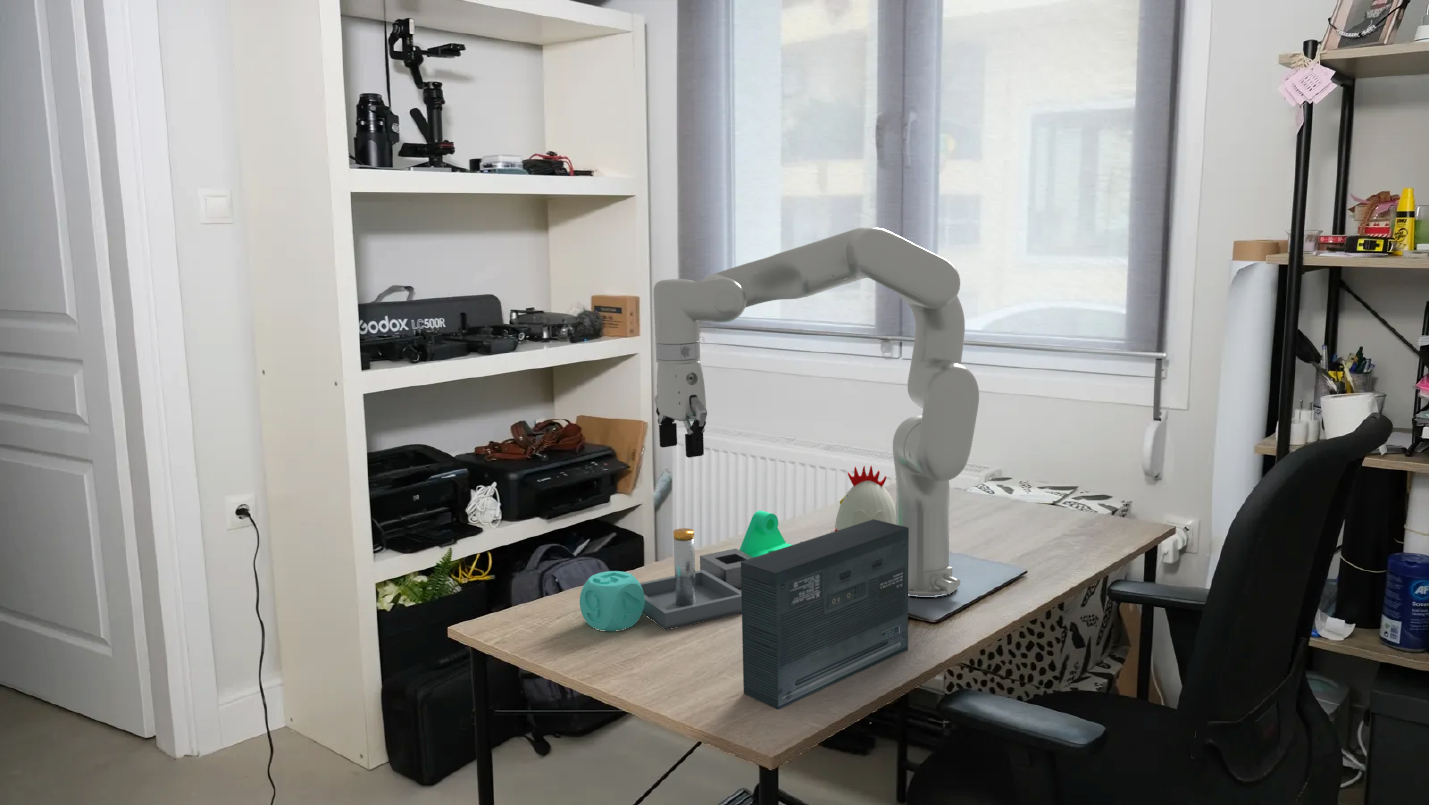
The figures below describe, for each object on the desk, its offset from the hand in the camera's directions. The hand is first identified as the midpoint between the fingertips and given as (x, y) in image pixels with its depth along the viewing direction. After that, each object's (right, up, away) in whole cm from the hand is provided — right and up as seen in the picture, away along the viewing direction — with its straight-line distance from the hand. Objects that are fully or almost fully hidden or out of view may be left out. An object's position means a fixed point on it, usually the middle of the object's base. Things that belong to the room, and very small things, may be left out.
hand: (681, 451), depth 185 cm
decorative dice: (-12, -30, -2) cm, 32 cm away
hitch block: (+9, -25, +18) cm, 32 cm away
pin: (+1, -27, +5) cm, 28 cm away
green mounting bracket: (+17, -24, +27) cm, 40 cm away
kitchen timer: (+39, -20, +45) cm, 62 cm away
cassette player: (+23, -32, -23) cm, 46 cm away
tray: (+1, -28, +5) cm, 28 cm away
